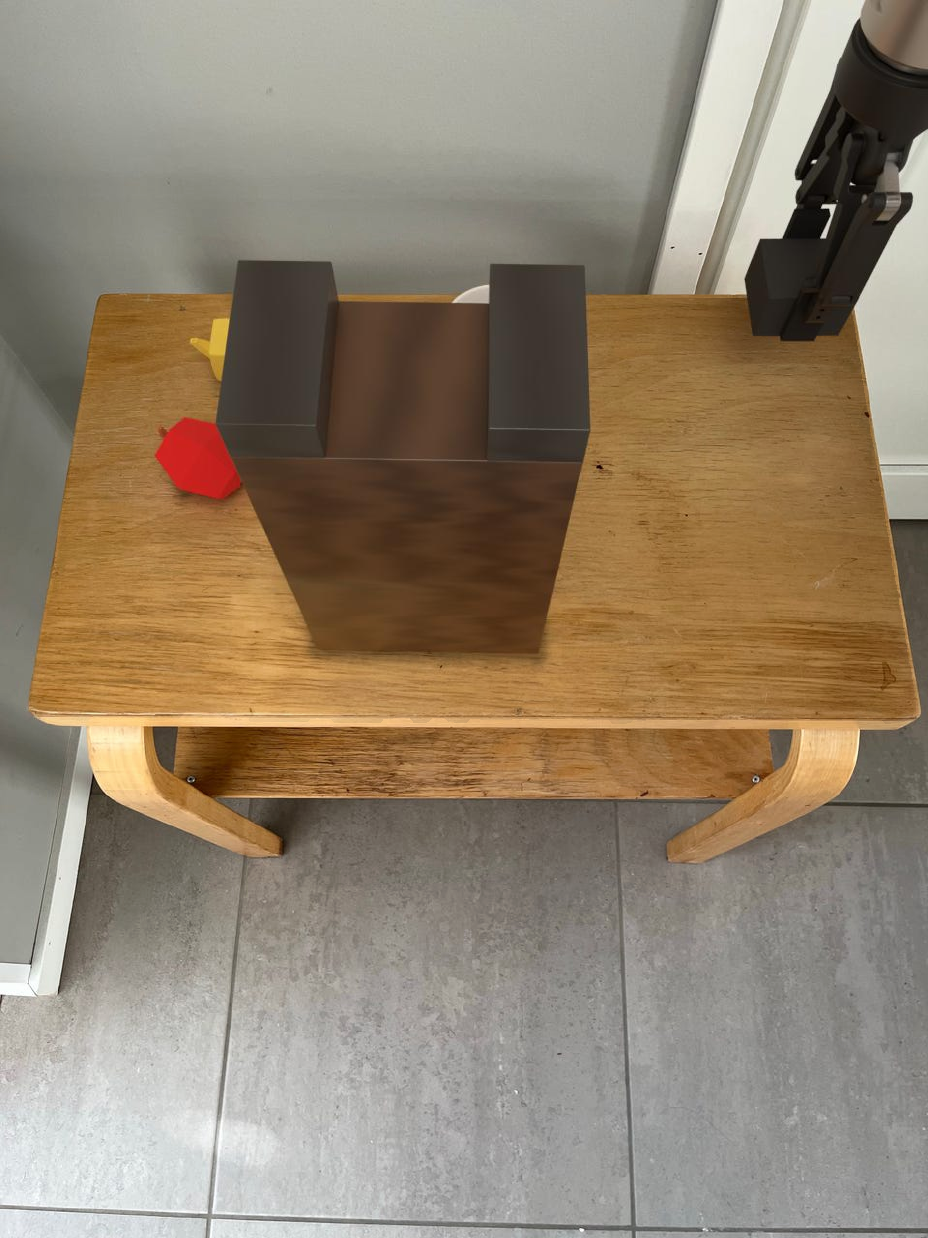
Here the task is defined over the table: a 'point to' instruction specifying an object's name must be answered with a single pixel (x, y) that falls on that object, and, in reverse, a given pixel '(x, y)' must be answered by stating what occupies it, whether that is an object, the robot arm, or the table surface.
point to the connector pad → (784, 284)
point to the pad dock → (410, 451)
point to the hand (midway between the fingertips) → (791, 304)
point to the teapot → (215, 345)
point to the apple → (197, 459)
